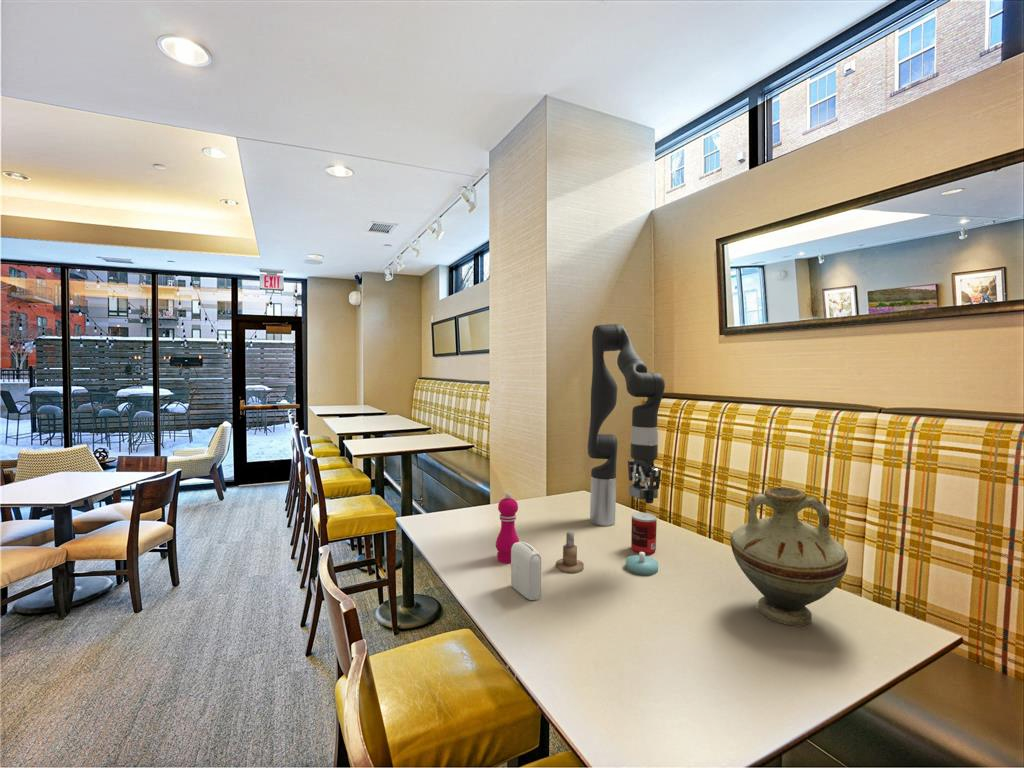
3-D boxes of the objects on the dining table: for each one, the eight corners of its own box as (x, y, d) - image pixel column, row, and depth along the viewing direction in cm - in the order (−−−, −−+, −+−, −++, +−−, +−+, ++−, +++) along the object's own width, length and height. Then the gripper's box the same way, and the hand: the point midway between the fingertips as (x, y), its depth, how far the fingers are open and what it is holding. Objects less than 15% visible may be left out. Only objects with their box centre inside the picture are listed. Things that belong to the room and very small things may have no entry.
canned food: (653, 546, 151) (653, 512, 151) (658, 555, 143) (659, 520, 143) (629, 544, 152) (629, 511, 152) (633, 554, 144) (633, 519, 144)
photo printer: (508, 585, 122) (509, 539, 122) (522, 582, 124) (523, 536, 124) (528, 602, 113) (529, 552, 113) (543, 598, 115) (544, 549, 115)
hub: (620, 563, 137) (620, 548, 137) (646, 560, 140) (647, 545, 139) (636, 576, 128) (636, 560, 128) (664, 573, 131) (664, 557, 131)
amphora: (710, 600, 118) (708, 485, 114) (778, 577, 126) (778, 470, 123) (795, 658, 96) (796, 519, 92) (871, 626, 104) (874, 497, 101)
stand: (551, 562, 137) (552, 529, 137) (576, 560, 139) (577, 527, 139) (562, 574, 129) (562, 539, 129) (588, 571, 131) (588, 536, 131)
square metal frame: (628, 494, 135) (629, 485, 135) (646, 492, 137) (646, 484, 137) (639, 499, 130) (639, 490, 130) (657, 498, 131) (657, 489, 131)
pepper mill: (516, 565, 135) (517, 497, 134) (492, 562, 137) (493, 495, 136) (521, 555, 142) (522, 491, 142) (498, 553, 144) (499, 489, 143)
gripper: (620, 438, 139) (618, 494, 139) (646, 446, 125) (645, 508, 125) (642, 438, 141) (640, 493, 141) (670, 445, 127) (669, 506, 128)
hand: (643, 499), depth 133 cm, fingers closed on square metal frame, 5 cm apart
